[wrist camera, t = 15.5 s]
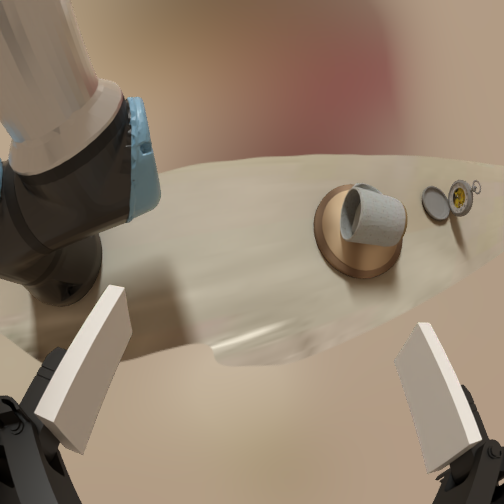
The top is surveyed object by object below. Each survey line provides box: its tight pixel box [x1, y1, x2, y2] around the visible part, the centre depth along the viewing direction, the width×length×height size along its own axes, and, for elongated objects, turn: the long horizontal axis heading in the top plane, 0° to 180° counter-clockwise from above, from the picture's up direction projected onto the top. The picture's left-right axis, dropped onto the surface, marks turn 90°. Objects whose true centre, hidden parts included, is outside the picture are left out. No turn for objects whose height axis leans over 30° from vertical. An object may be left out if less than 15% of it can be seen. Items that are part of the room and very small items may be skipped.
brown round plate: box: [314, 184, 402, 279], centre depth 43 cm, size 15×15×1 cm
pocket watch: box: [422, 180, 481, 220], centre depth 42 cm, size 8×8×10 cm
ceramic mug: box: [340, 183, 407, 247], centre depth 39 cm, size 11×8×8 cm
